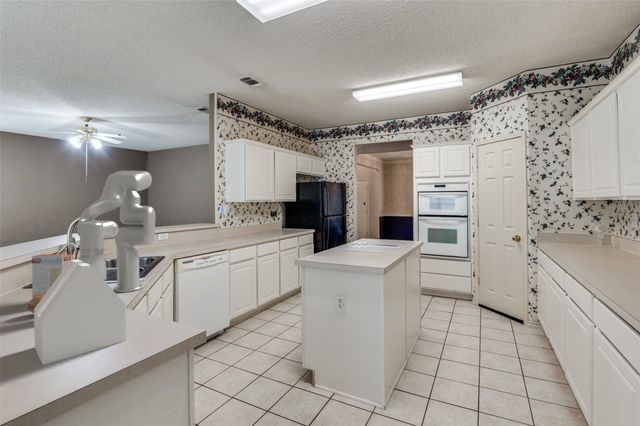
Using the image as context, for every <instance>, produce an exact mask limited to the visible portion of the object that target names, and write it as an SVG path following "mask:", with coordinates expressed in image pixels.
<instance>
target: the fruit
mask: <svg viewBox="0 0 640 426" xmlns="http://www.w3.org/2000/svg"><path fill="white" fill-rule="evenodd" d="M44 295H45V294H38V295H36V296H35V297H34V298H33V297H32V298H31V299H30V300H29V302H28V303H27V304H28V305H27V309H28V311H29V312H31V313H32V314H34V309H35V307H36V306H37V305H38V303H39V302H40V301H41V299H42V298H43V296H44Z"/></svg>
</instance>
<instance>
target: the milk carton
mask: <svg viewBox="0 0 640 426" xmlns="http://www.w3.org/2000/svg"><path fill="white" fill-rule="evenodd" d="M126 318H127V317H126V303H125V302H124V301H123V300H122V299H121V297H119V295H117V292H115V291H114V289H112V288H111V286H109V284H108V283H107V282H106V281H105V280H103V279H102V277H101V276H100V275H99V274H98V273H97V272H96V271H95V270H94V268H93V267H92V266H91V265H89V264H87V263H84V262H83V261H81V260H78V258H77V259H73V260H70V262H69V263H68V264H67V266H66V267H65V268H64V270H63V271H62V272H61V274H60V275H59V276H58V278H57V279H56V280H55V282H54V283H53V284H52V286H51V287H50V288H49V290H48V291H47V292H46V294H45V295H44V296H43V298H42V299H41V301H40V302H39V303H38V305H37V306H36V307H35V309H34V313H33V319H34V320H33V321H34V323H33V324H34V325H33V326H34V328H33V329H34V330H33V331H34V332H33V333H34V336H33V338H34V349H35V351H36V353H37V356H38V357H39V359H40V362H41V364H42V366H44V365H47V364H51V363H55V362H58V361H61V360H65V359H69V358H72V357H75V356H79V355H82V354H86V353H89V352H92V351H96V350H99V349H103V348H106V347H109V346H112V345H116V344H119V343H123V342H125V341H126V339H127V333H126V329H127V328H126V327H127V326H126V320H127V319H126Z"/></svg>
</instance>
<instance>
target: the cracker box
mask: <svg viewBox="0 0 640 426" xmlns="http://www.w3.org/2000/svg"><path fill="white" fill-rule="evenodd" d="M70 260H74V254H61V253H60V254H53V253H52V254H50V253H49V254H47V253H44V254H37V255H32V256H31V269H32V270H31V276H32V279H31V280H32V284H31V285H32V288H31V289H32V299H33V298H34V297H35V296H36V295H38V294H46V292H47V291H48V290H49V288H50V287H51V286H52V284H53V283H54V282H55V280H56V279H57V278H58V276H59V275H60V274H61V272H62V271H63V270H64V268H65V267H66V266H67V264H68V263H69V262H70Z"/></svg>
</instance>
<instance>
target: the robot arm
mask: <svg viewBox="0 0 640 426" xmlns="http://www.w3.org/2000/svg"><path fill="white" fill-rule="evenodd" d="M152 182H153V176H152V175H151V173H150V172H149V171H145V170H117V171H116V172H114V173H111V174H110V175H108V176H107V178H106V180H105V183H104V186H103V190H102V193H101V194H100V195H101V196H100V197H99V199H98V200H96V201H94V202H93V203H92V204H90V205H88V207H86V208H85V209H84V210H83V211H82V212H81V215H80V218H79V219H78V223H77V227H76V233H77V235H78V236H79V256H80V257H78V258H77V259H78V260H81V261H83V262H84V263H87V264H89V265H91V266H92V267H93V268H94V270H95V271H96V272H97V273H98V274H99V275H100V276H101V277H102V279H103V280H104V281H105V280H107V277H108V276H107V263H106V256H105V254H104V253H105V248H104V239H112V238H114V243H115V247H116V287H114V288H113V291H114V292H115V293H129V292H134V291H139V290H141V289H143V287H144V285H143V284H141V283H142V282H144V281H146V278H145V277H140V253H139V251H138V249H137V248H136V247H135V246H140V247H141V246H151V245H152V244H153V243H154V240H155V232H156V212H155V209H154V208H153V207H152V206H150V205H148V206H147V205H141V196H140V194H139V193H138V192H141V191H144V190H146V189H148V188H149V187H150V186H151V185H152ZM119 208H120V209H119ZM116 209H119V220H120V223H122V224H124V225H143V226H122V227H119V224H117V222H115V221H113V220H95V219H96V218H97V217H100V215H102V214H103V215H104V214H105V213H108V212H110V211H114V210H116Z"/></svg>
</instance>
